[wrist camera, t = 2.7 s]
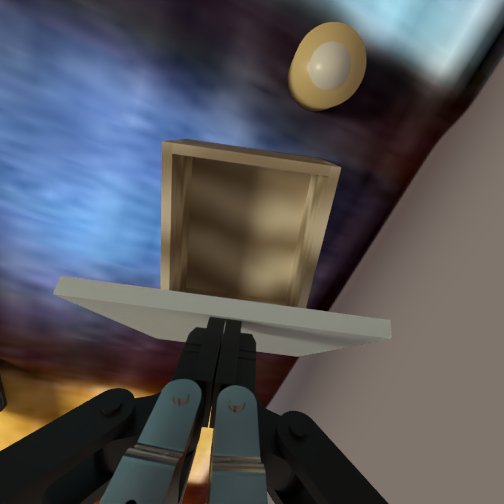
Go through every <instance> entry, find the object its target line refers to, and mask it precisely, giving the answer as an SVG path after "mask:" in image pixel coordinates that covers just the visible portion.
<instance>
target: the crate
mask: <svg viewBox="0 0 504 504" xmlns="http://www.w3.org/2000/svg"><path fill="white" fill-rule="evenodd" d="M340 171H341V167H339V166H337V165H335V164H332V163H330V162H328V161H326V160H323V159H320V158H314V157H307V156H300V155H293V154H286V153H280V152H273V151H266V150H259V149H252V148H246V147H239V146H232V145H225V144H218V143H211V142H205V141H198V140H191V139H181V140H170V141H162V204H161V289H162V290H170V291H177V292H185V293H192V294H200V295H207V296H215V297H222V298H230V299H237V300H245V301H252V302H260V303H267V304H275V305H282V306H290V307H297V308H305V309H306V306H307V302H308V298H309V294H310V290H311V286H312V282H313V278H314V274H315V270H316V266H317V262H318V258H319V254H320V250H321V246H322V242H323V238H324V234H325V230H326V227H327V223H328V219H329V215H330V211H331V207H332V203H333V199H334V195H335V191H336V187H337V183H338V179H339V175H340Z"/></svg>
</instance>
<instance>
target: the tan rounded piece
mask: <svg viewBox="0 0 504 504" xmlns="http://www.w3.org/2000/svg"><path fill="white" fill-rule="evenodd" d="M365 69H366V50H365V47H364V44H363V41H362V39H361V38H360V36H359V35H358V33H357V32H356V31H355V30H354V29H353V28H351V27H350V26H348V25H346V24H343V23H339V22H328V23H324V24H322V25H319V26H317V27H316V28H314V29H313V30H312V31H310V32H309V33H308V34H307V35H306V36H305V38H304V39H303V40H302V42H301V43H300V45H299V47H298V49H297V52H296V54H295V56H294V59H293V61H292V63H291V66H290V69H289V73H288V87H289V91H290V94H291V96H292V98H293V100H294V101H295V102H296V103H297V104H298V105H299V106H300V107H302V108H303V109H306V110H309V111H322V110H325V109H328V108H330V107H333V106H336V105H339V104H341V103H343V102H344V101H346V100H347V99H348V98H350V97H351V96H352V95H353V94H354V93H355V91H356V90H357V89H358V87H359V85H360V84H361V82H362V79H363V77H364V73H365Z"/></svg>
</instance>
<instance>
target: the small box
mask: <svg viewBox="0 0 504 504" xmlns="http://www.w3.org/2000/svg"><path fill="white" fill-rule="evenodd" d="M6 406H7V404H6V400H5V395H4V391H3V387H2V382H1V378H0V412H1V411H2V410H3V409H4V408H5V407H6Z"/></svg>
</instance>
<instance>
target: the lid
mask: <svg viewBox="0 0 504 504" xmlns="http://www.w3.org/2000/svg"><path fill="white" fill-rule="evenodd" d="M53 294H54V295H56V296H59V297H61V298H63V299H66V300H68V301H70V302H73V303H75V304H77V305H80V306H82V307H84V308H87V309H89V310H91V311H94V312H96V313H98V314H101V315H103V316H105V317H108V318H110V319H112V320H115V321H117V322H119V323H122V324H124V325H126V326H129V327H131V328H133V329H136V330H138V331H140V332H143V333H145V334H147V335H150V336H152V337H154V338H158V339H166V340H174V341H181V342H186V340H187V337H188V335H189V333H190V332H191V331H192V330H193V329H194V328H195V327H201V328H207V324H208V320H209V317H213V318H221V319H225V324H226V319H229V320H236V321H242V326H241V333H248V334H252V335H253V337H254V339H255V341H256V351H259V352H266V353H274V354H282V355H290V356H297V357H298V356H302V355H308V354H314V353H319V352H324V351H329V350H335V349H340V348H345V347H351V346H356V345H362V344H367V343H372V342H377V341H383V340H388V339H392V334H391V320H387V319H379V318H372V317H365V316H357V315H349V314H342V313H334V312H327V311H320V310H312V309H305V308H297V307H290V306H282V305H275V304H267V303H260V302H252V301H245V300H237V299H230V298H222V297H215V296H207V295H200V294H192V293H185V292H177V291H170V290H162V289H155V288H147V287H140V286H132V285H125V284H117V283H110V282H102V281H95V280H88V279H80V278H73V277H65V276H60V278H59V280H58V283H57V285H56V288H55V290H54V293H53ZM224 330H225V326H224Z"/></svg>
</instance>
